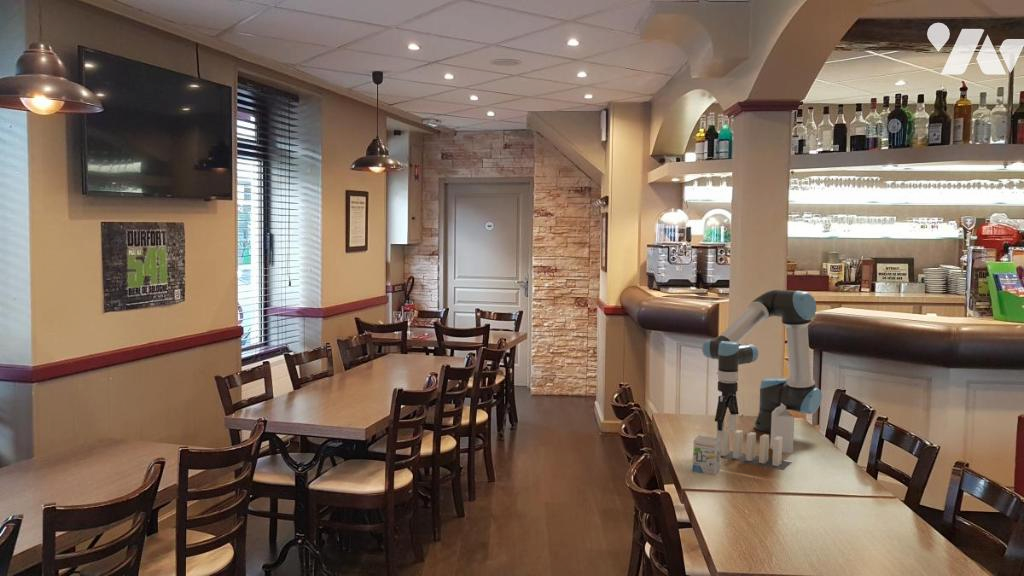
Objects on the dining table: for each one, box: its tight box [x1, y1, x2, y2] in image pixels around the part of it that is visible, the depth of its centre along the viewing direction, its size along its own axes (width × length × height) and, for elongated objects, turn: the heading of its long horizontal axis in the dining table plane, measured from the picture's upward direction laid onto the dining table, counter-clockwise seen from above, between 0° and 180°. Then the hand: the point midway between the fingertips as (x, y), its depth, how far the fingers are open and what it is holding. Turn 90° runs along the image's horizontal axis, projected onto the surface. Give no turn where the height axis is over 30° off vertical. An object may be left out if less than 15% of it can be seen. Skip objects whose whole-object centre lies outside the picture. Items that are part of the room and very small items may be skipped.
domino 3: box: [758, 433, 770, 463], centre depth 277 cm, size 5×2×10 cm, turn 145°
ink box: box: [691, 435, 721, 476], centre depth 266 cm, size 8×8×12 cm
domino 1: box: [732, 429, 744, 459], centre depth 283 cm, size 5×2×10 cm, turn 145°
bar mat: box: [720, 450, 793, 471], centre depth 280 cm, size 12×28×1 cm, turn 55°
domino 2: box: [745, 431, 757, 461], centre depth 280 cm, size 5×2×10 cm, turn 145°
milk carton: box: [769, 403, 795, 454], centre depth 293 cm, size 7×7×19 cm
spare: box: [721, 427, 731, 456], centre depth 286 cm, size 5×2×10 cm, turn 145°
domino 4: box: [772, 436, 783, 466], centre depth 274 cm, size 5×2×10 cm, turn 144°
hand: (726, 434), depth 286 cm, fingers open, 13 cm apart
